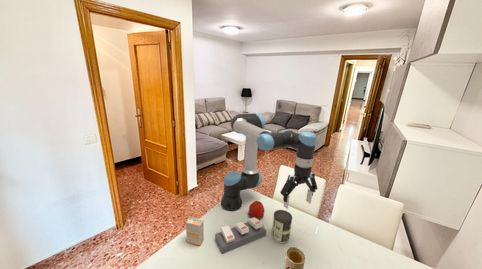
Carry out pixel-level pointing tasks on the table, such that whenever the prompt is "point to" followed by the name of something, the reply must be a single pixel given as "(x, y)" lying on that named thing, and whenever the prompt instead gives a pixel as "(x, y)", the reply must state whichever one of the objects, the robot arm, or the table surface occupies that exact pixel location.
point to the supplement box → (195, 231)
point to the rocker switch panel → (239, 237)
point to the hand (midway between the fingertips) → (297, 204)
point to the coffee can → (281, 226)
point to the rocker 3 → (255, 223)
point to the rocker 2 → (241, 227)
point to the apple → (256, 210)
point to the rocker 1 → (227, 234)
